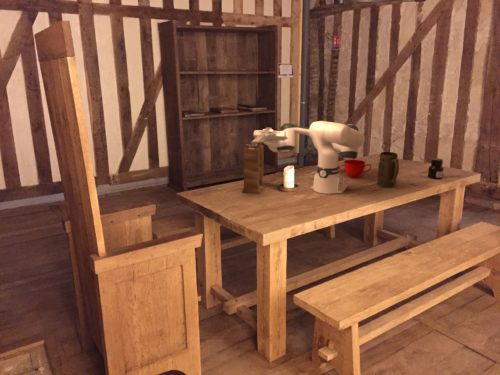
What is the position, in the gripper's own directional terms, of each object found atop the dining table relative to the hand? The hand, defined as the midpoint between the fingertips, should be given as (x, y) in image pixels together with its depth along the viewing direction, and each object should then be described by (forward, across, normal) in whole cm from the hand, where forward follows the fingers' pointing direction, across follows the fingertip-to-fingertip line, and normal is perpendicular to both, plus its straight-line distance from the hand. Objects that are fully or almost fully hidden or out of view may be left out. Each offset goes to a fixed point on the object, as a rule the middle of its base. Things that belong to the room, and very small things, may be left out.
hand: (267, 130), depth 264 cm
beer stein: (-20, -73, -24) cm, 79 cm away
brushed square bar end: (+6, +1, -8) cm, 10 cm away
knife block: (+6, +2, -39) cm, 39 cm away
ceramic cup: (-36, -54, -15) cm, 66 cm away
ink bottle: (-47, -102, -9) cm, 113 cm away
